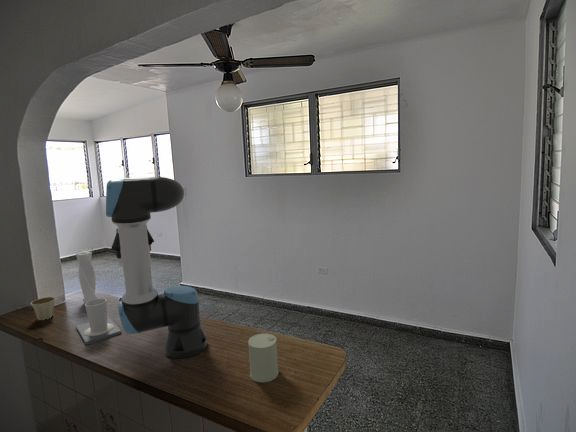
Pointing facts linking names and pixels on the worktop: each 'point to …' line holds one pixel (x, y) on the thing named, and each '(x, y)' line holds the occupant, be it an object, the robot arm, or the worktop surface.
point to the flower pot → (43, 307)
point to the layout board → (94, 337)
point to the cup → (97, 314)
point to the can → (263, 357)
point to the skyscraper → (86, 275)
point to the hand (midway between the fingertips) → (135, 261)
